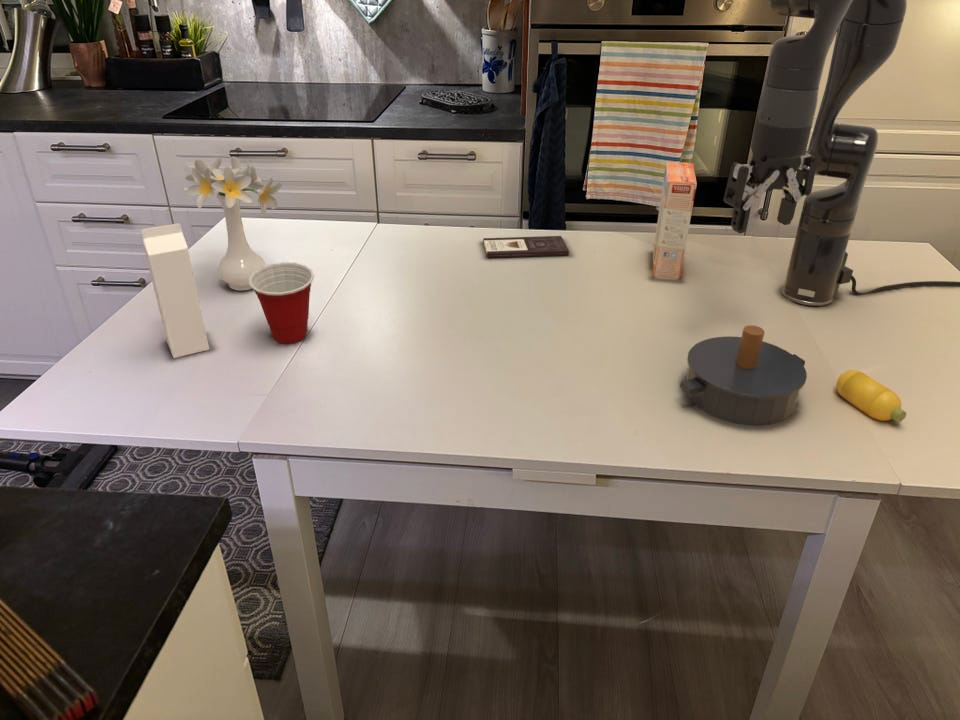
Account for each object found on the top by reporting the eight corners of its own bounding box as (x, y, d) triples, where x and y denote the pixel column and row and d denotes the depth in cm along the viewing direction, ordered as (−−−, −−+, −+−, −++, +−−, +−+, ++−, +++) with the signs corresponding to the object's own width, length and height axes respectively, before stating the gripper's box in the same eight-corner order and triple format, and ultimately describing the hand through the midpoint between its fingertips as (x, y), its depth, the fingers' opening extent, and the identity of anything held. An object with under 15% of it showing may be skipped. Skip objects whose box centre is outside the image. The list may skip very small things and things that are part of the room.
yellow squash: (826, 393, 117) (834, 367, 114) (849, 387, 118) (857, 361, 116) (884, 433, 108) (894, 407, 105) (908, 426, 109) (918, 400, 107)
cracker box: (681, 282, 152) (698, 182, 141) (651, 279, 153) (665, 180, 142) (679, 255, 164) (694, 161, 153) (652, 253, 165) (665, 160, 154)
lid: (664, 354, 117) (670, 314, 114) (752, 334, 123) (761, 296, 119) (735, 413, 104) (745, 370, 100) (831, 387, 109) (843, 346, 106)
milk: (209, 350, 127) (184, 229, 116) (172, 358, 125) (143, 236, 113) (202, 334, 132) (177, 217, 120) (166, 342, 129) (137, 223, 118)
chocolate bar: (568, 251, 163) (487, 253, 161) (568, 255, 163) (487, 257, 161) (560, 235, 170) (483, 238, 169) (560, 239, 171) (483, 242, 169)
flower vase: (279, 301, 143) (260, 174, 130) (190, 294, 145) (163, 169, 132) (303, 273, 154) (288, 154, 141) (220, 267, 156) (198, 149, 143)
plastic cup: (255, 354, 126) (244, 291, 120) (261, 324, 135) (251, 264, 129) (320, 349, 127) (312, 286, 121) (321, 320, 137) (314, 260, 130)
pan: (650, 384, 119) (654, 354, 116) (758, 358, 126) (765, 330, 123) (714, 442, 106) (721, 410, 103) (831, 410, 113) (840, 379, 110)
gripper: (761, 130, 98) (739, 243, 107) (843, 119, 103) (815, 229, 111) (725, 117, 104) (707, 225, 113) (804, 107, 109) (781, 212, 117)
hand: (761, 227), depth 112 cm, fingers open, 8 cm apart
